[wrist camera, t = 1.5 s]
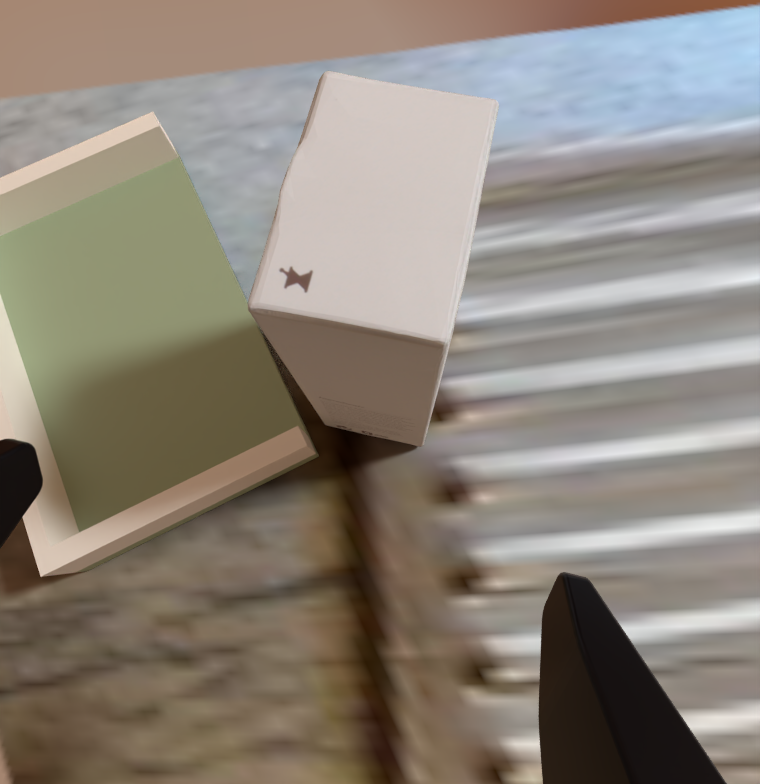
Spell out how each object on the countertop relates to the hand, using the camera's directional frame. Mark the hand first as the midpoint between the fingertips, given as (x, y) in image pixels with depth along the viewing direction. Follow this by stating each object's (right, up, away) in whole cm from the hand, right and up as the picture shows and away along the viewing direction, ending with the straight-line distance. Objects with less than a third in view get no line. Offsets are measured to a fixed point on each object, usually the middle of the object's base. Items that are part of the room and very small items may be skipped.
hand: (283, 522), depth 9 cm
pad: (-9, +4, +15) cm, 18 cm away
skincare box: (+2, +3, +14) cm, 14 cm away
